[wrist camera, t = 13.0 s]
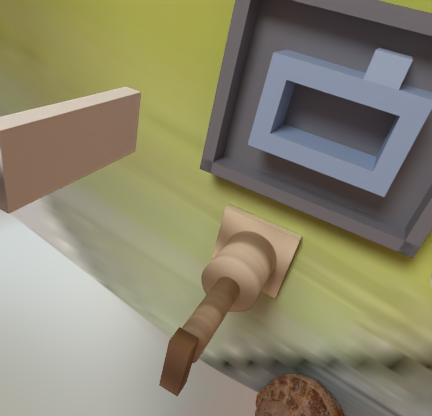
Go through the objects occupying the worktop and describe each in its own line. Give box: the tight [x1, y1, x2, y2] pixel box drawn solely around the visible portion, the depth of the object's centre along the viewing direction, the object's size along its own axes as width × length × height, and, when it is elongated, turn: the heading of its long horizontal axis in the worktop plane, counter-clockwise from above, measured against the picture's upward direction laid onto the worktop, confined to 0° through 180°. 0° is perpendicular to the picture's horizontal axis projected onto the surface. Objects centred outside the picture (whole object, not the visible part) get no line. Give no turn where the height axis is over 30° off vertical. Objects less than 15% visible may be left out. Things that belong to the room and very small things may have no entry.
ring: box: [248, 47, 432, 197], centre depth 23 cm, size 10×8×3 cm
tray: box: [200, 0, 432, 258], centre depth 25 cm, size 14×17×2 cm
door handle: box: [160, 204, 302, 396], centre depth 28 cm, size 7×7×14 cm
